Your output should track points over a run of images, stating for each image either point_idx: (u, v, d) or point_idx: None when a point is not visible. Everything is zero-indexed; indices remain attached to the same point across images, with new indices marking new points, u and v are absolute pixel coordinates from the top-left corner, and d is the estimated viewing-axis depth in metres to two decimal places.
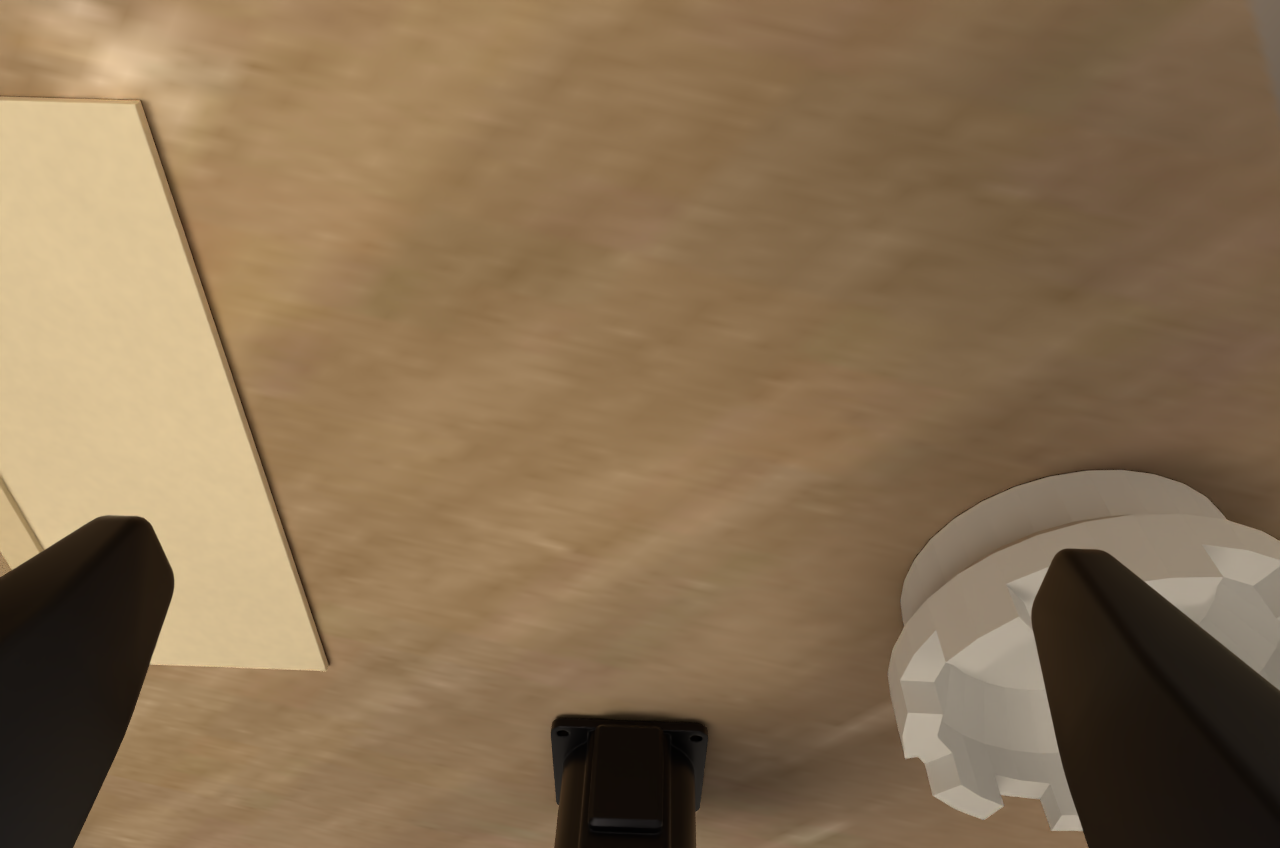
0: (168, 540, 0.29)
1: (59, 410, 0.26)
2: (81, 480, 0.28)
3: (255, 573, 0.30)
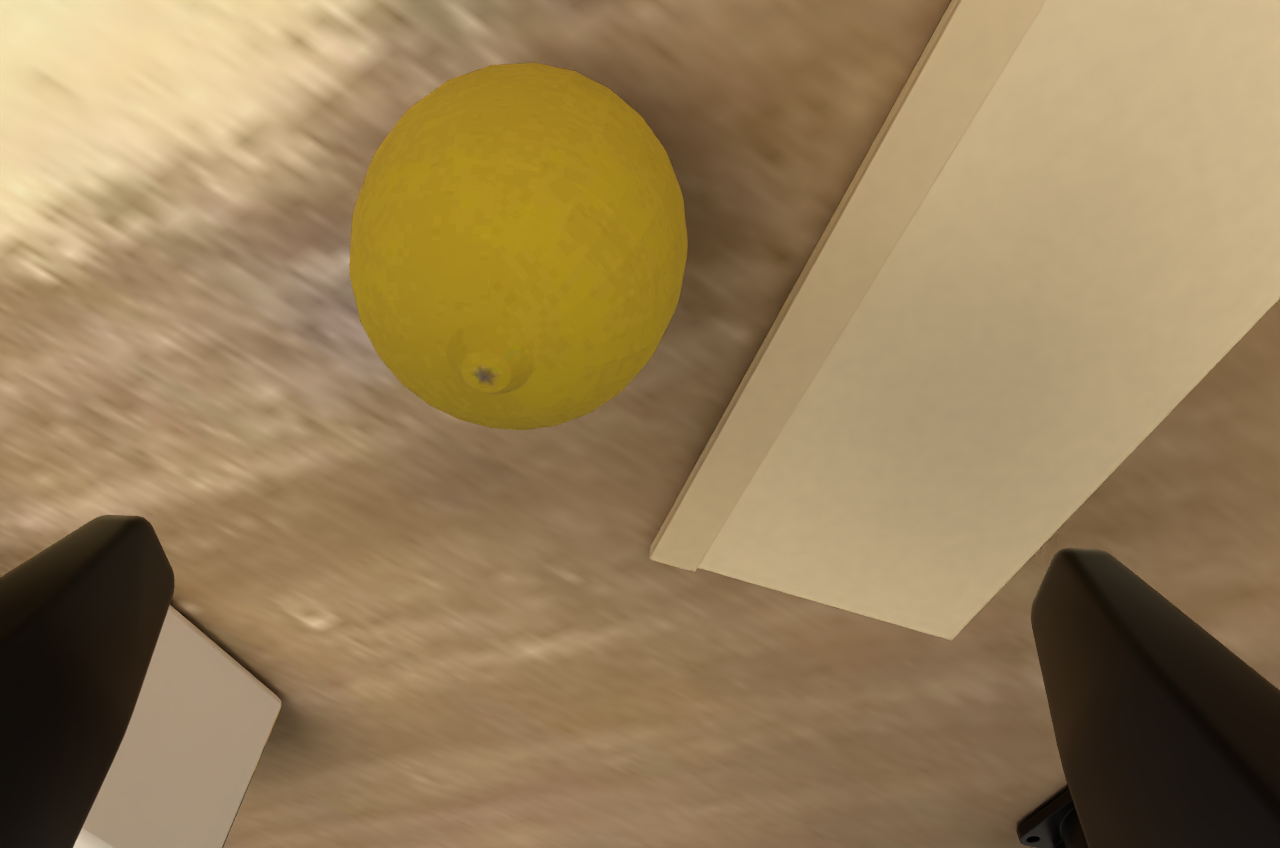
0: (973, 435, 0.22)
1: (1062, 223, 0.18)
2: (966, 326, 0.20)
3: (1023, 506, 0.23)
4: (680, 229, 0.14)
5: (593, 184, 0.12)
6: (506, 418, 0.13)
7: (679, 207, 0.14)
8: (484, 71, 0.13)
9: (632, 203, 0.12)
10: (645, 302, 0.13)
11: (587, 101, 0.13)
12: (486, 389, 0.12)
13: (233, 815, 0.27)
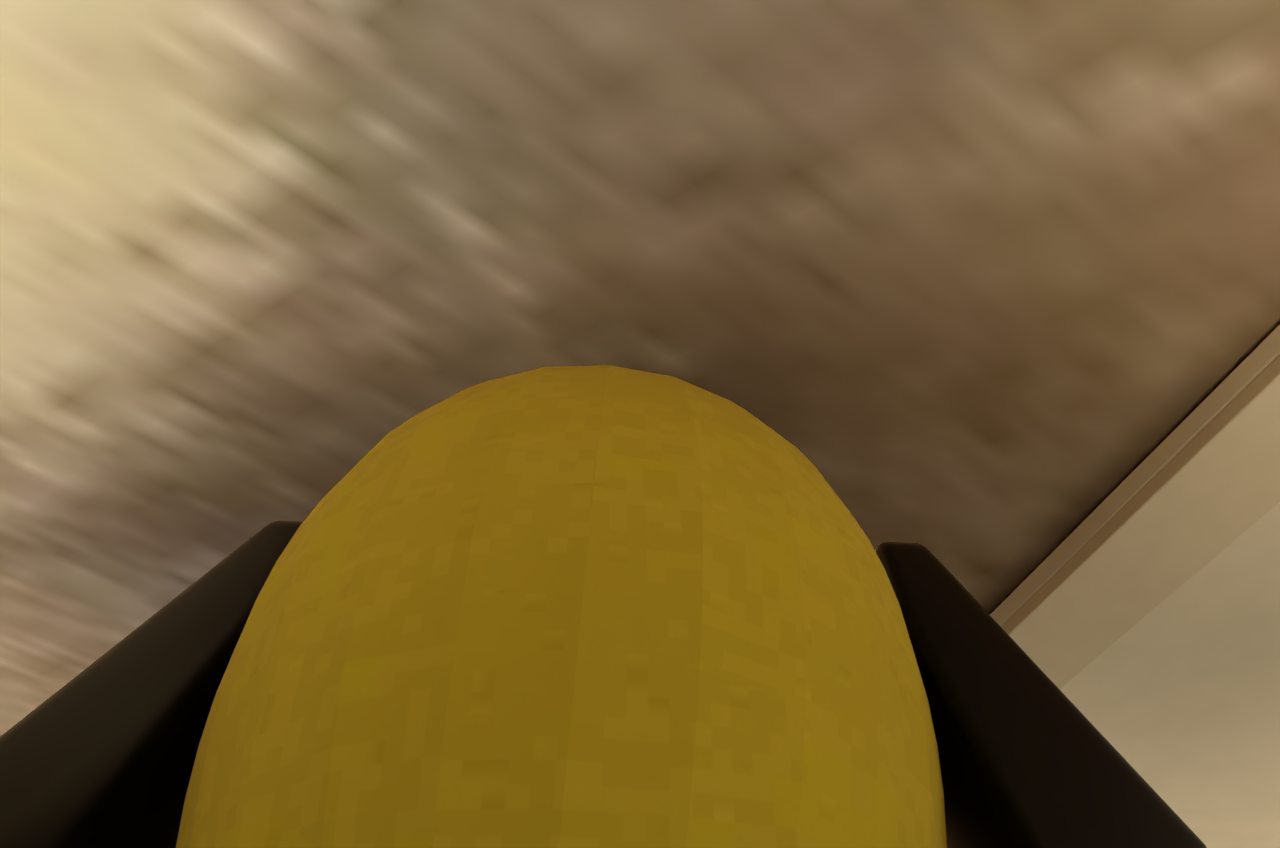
0: (1238, 790, 0.14)
1: None
2: (1272, 669, 0.12)
3: None
4: (943, 797, 0.06)
5: None
6: None
7: (932, 729, 0.06)
8: (498, 450, 0.06)
9: None
10: None
11: (753, 557, 0.05)
12: None
13: None
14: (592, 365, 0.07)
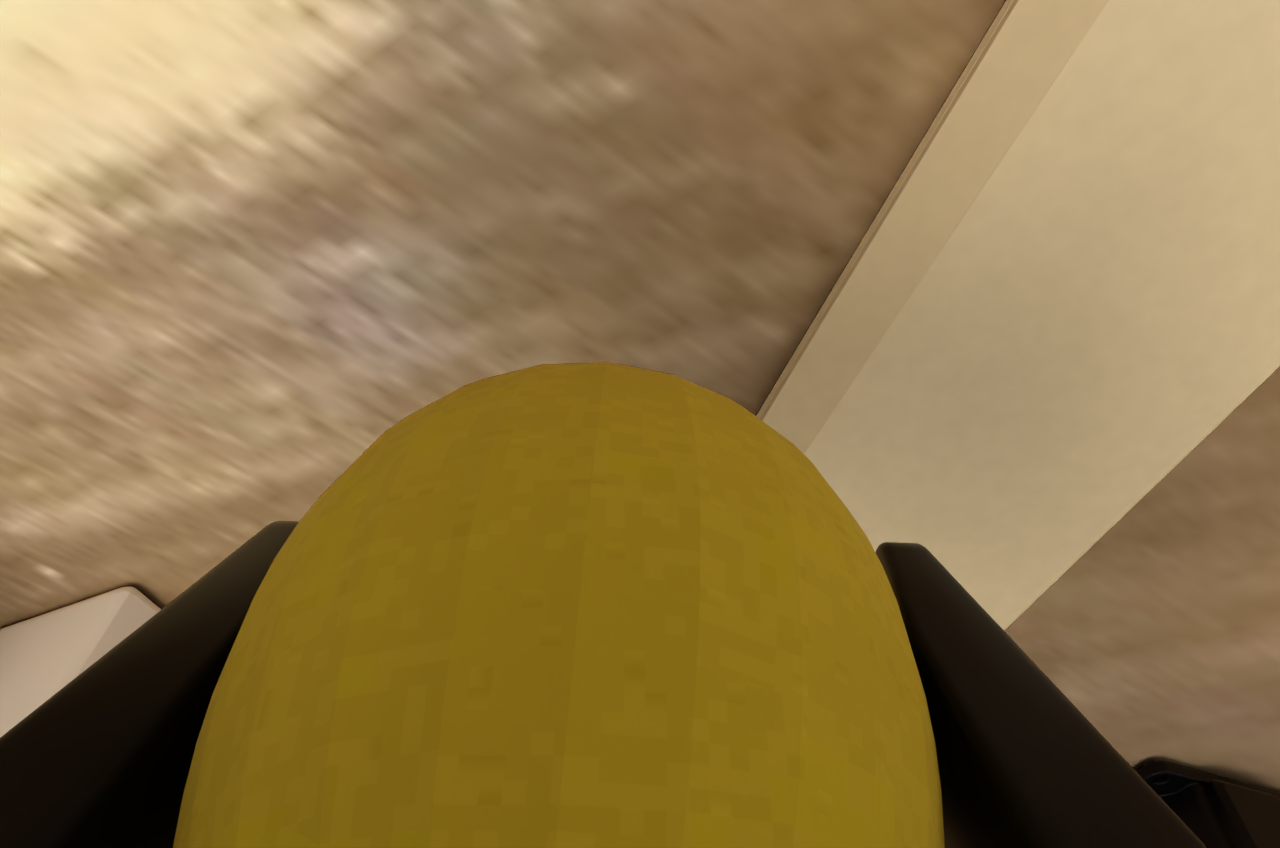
0: (1018, 440, 0.21)
1: (1127, 217, 0.17)
2: (1018, 325, 0.19)
3: (1066, 513, 0.22)
4: (941, 794, 0.06)
5: None
6: None
7: (930, 726, 0.06)
8: (496, 447, 0.06)
9: None
10: None
11: (750, 553, 0.05)
12: None
13: None
14: (590, 363, 0.07)
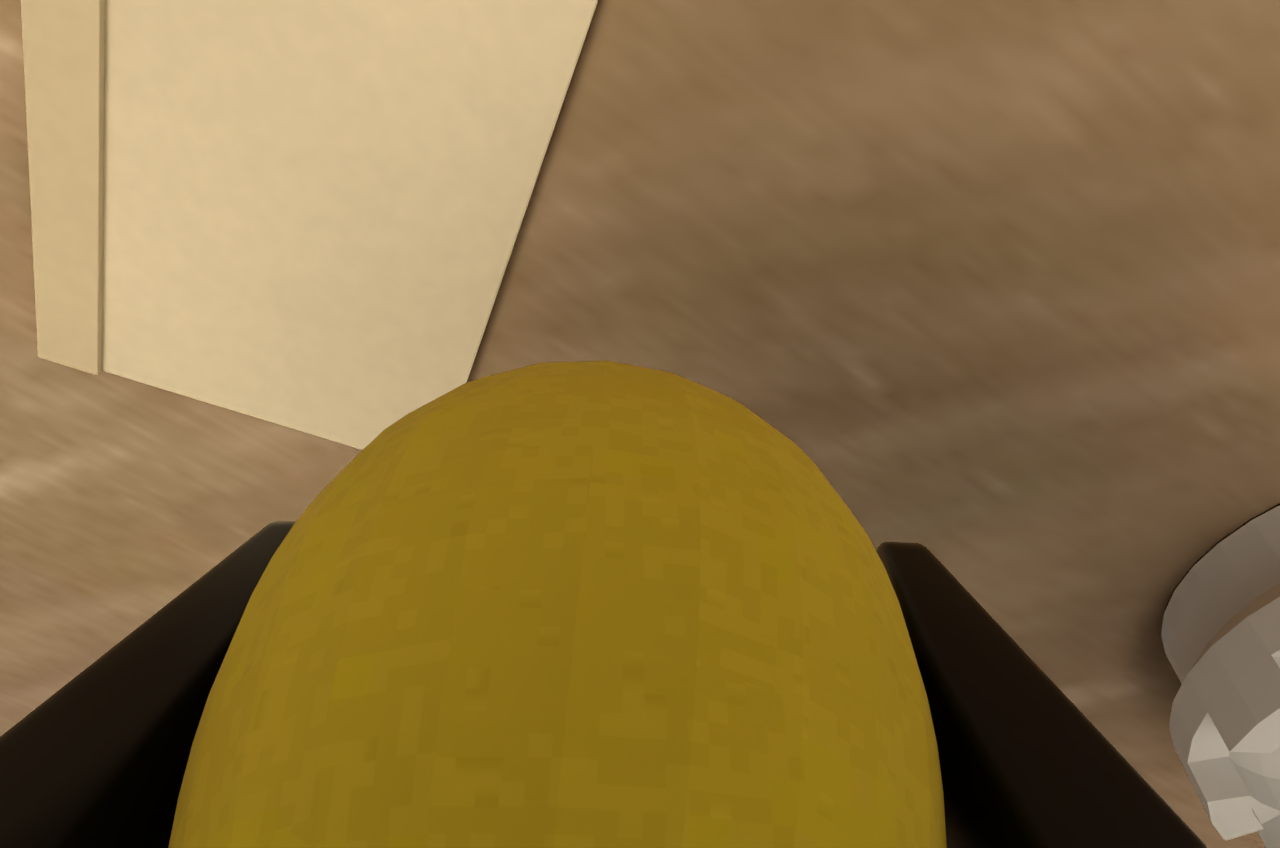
0: (331, 189, 0.18)
1: None
2: (251, 29, 0.16)
3: (433, 290, 0.20)
4: (943, 796, 0.06)
5: None
6: None
7: (932, 727, 0.06)
8: (494, 446, 0.06)
9: None
10: None
11: (749, 553, 0.05)
12: None
13: None
14: (590, 361, 0.07)
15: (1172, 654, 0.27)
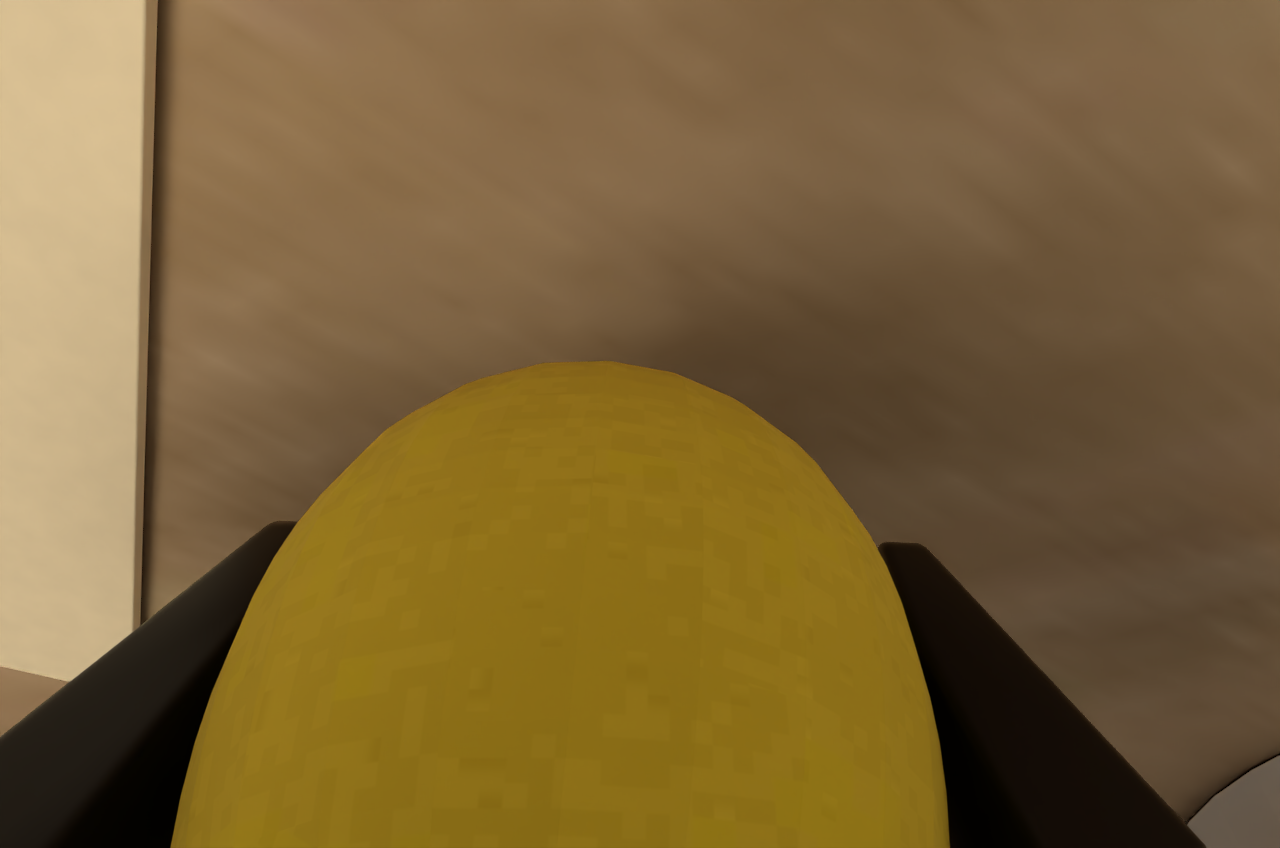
0: None
1: None
2: None
3: (39, 476, 0.13)
4: (946, 797, 0.06)
5: None
6: None
7: (935, 728, 0.06)
8: (497, 446, 0.06)
9: None
10: None
11: (753, 553, 0.05)
12: None
13: None
14: (592, 361, 0.07)
15: None
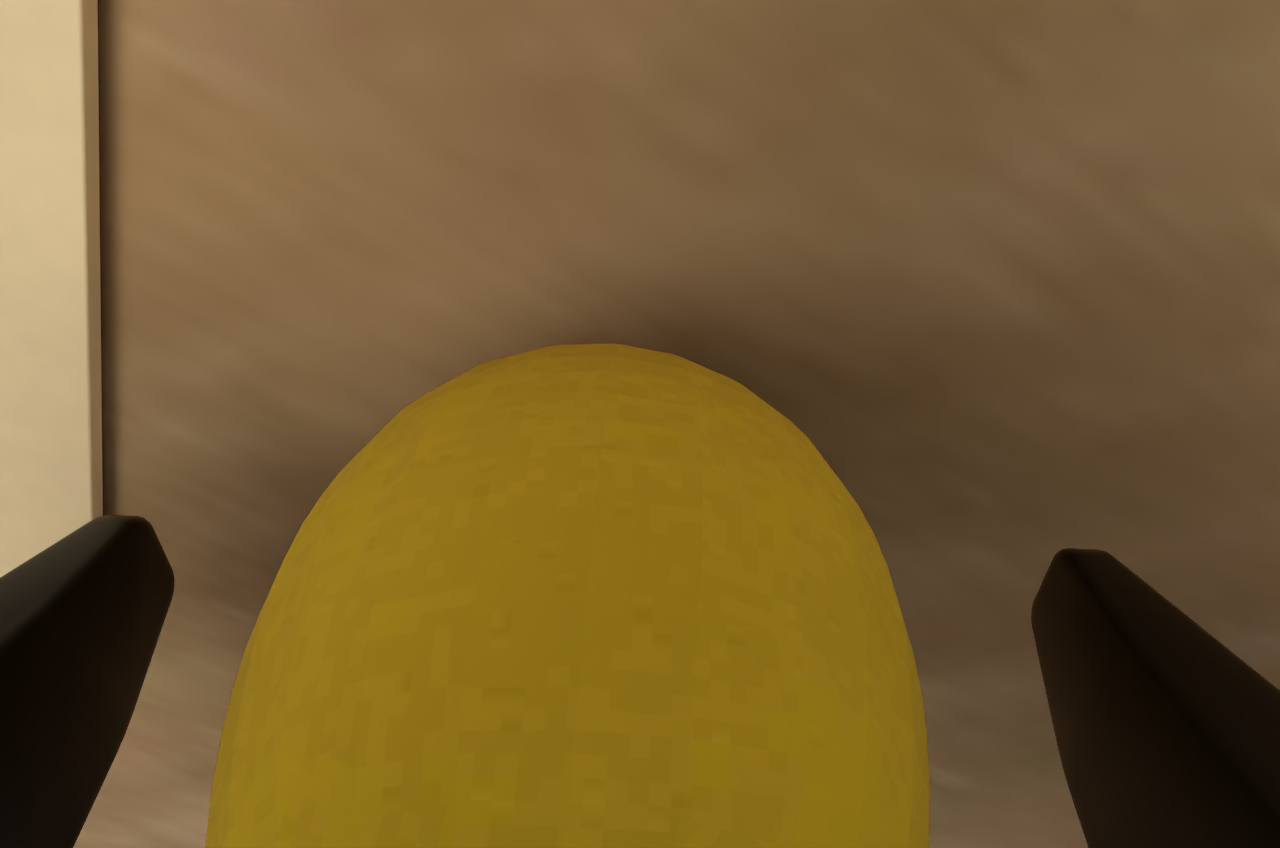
0: None
1: None
2: None
3: None
4: (927, 743, 0.06)
5: (802, 820, 0.05)
6: None
7: (917, 681, 0.07)
8: (512, 417, 0.06)
9: (879, 815, 0.05)
10: None
11: (748, 512, 0.06)
12: None
13: None
14: None
15: None
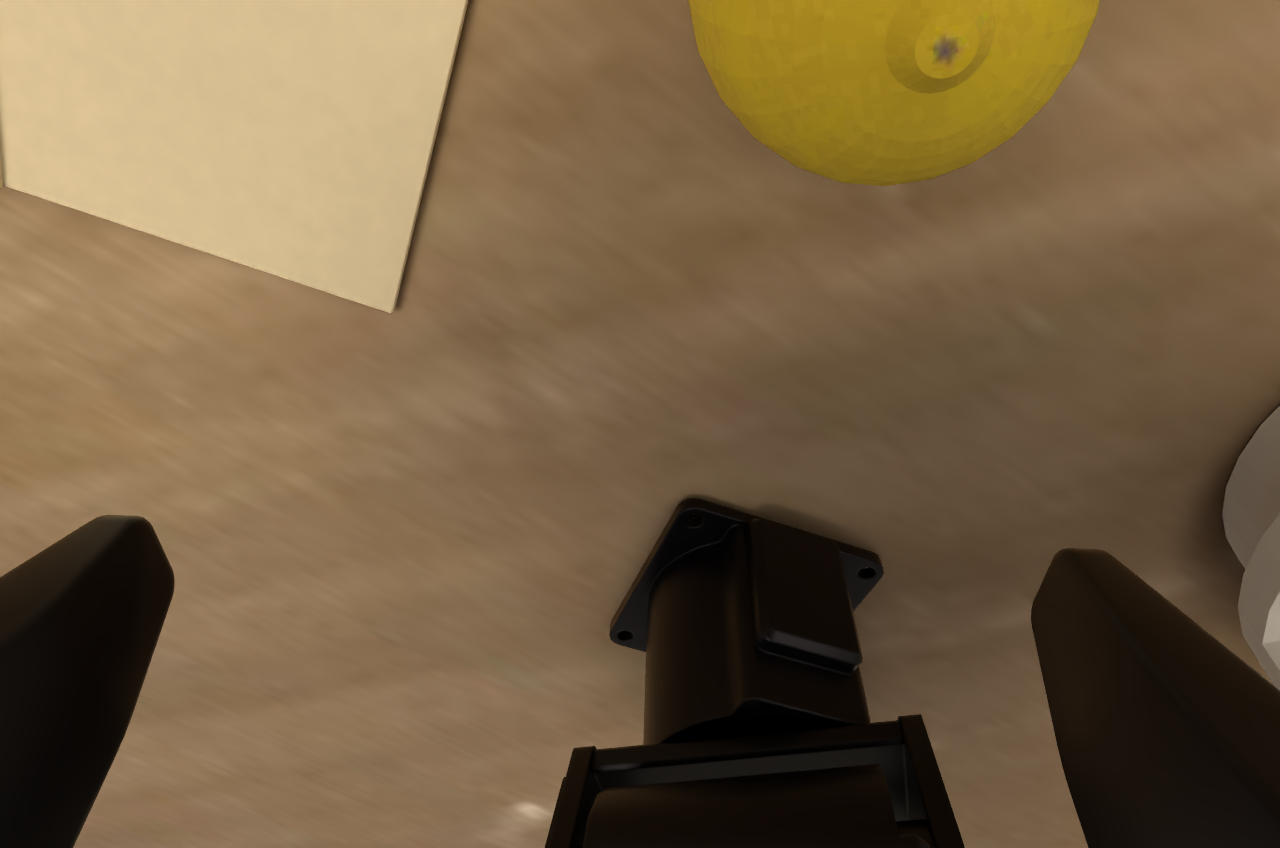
0: None
1: None
2: None
3: (376, 65, 0.17)
4: None
5: None
6: (913, 142, 0.11)
7: None
8: None
9: None
10: None
11: None
12: (940, 73, 0.10)
13: None
14: None
15: (1236, 533, 0.23)
